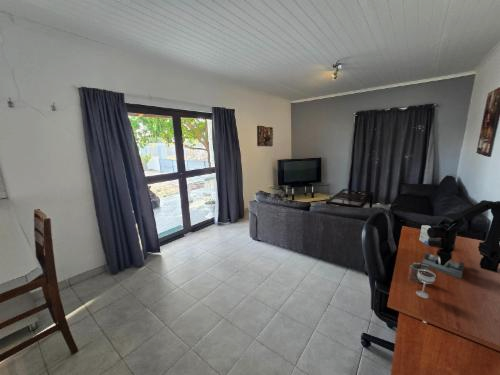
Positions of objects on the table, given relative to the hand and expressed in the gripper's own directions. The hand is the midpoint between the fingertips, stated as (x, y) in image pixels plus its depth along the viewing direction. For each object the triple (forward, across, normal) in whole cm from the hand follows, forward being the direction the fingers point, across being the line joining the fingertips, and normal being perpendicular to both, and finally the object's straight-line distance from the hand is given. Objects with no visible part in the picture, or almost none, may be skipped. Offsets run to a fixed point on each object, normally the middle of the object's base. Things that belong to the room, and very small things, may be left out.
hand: (443, 262), depth 125 cm
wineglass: (+3, +36, -4) cm, 36 cm away
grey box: (+3, +25, -8) cm, 26 cm away
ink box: (+3, -29, -12) cm, 31 cm away
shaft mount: (+3, 0, 0) cm, 3 cm away
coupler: (+3, 0, 0) cm, 3 cm away
